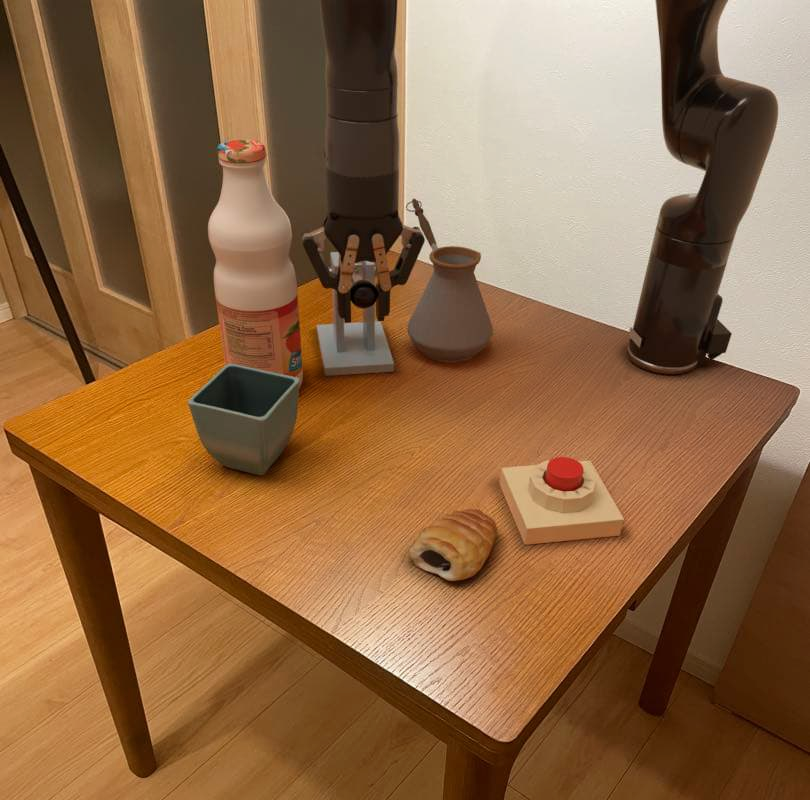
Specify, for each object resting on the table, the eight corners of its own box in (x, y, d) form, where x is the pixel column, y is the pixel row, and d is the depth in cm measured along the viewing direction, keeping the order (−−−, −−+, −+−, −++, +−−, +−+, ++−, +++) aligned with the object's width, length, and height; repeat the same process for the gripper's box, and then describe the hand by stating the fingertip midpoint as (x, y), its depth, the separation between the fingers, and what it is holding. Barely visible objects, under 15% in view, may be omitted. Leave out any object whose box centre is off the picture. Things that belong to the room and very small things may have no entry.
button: (574, 469, 82) (576, 455, 81) (585, 490, 80) (588, 476, 79) (540, 472, 82) (542, 458, 81) (551, 493, 79) (553, 479, 78)
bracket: (394, 371, 104) (395, 276, 95) (324, 376, 102) (320, 280, 94) (380, 328, 112) (381, 238, 104) (316, 332, 111) (311, 241, 103)
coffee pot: (505, 362, 106) (518, 251, 96) (424, 375, 103) (429, 262, 93) (445, 295, 121) (451, 193, 111) (373, 305, 118) (373, 200, 108)
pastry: (455, 513, 82) (458, 484, 80) (512, 539, 80) (517, 510, 77) (403, 563, 77) (404, 534, 74) (463, 594, 74) (466, 564, 71)
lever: (379, 311, 90) (379, 282, 89) (351, 312, 90) (350, 283, 88) (364, 282, 102) (363, 256, 101) (339, 283, 102) (338, 257, 100)
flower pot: (306, 446, 91) (301, 376, 85) (271, 491, 84) (264, 419, 78) (237, 430, 93) (227, 361, 87) (198, 473, 86) (185, 402, 80)
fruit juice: (219, 373, 102) (184, 137, 84) (289, 359, 105) (271, 128, 87) (240, 410, 96) (207, 163, 77) (314, 394, 99) (299, 153, 80)
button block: (586, 476, 88) (593, 446, 85) (620, 535, 80) (628, 505, 78) (498, 483, 86) (502, 453, 84) (524, 545, 79) (529, 514, 76)
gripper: (295, 175, 78) (305, 337, 89) (437, 171, 80) (429, 330, 91) (290, 152, 83) (300, 308, 95) (423, 149, 85) (417, 302, 97)
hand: (363, 318), depth 93 cm, fingers closed on lever, 3 cm apart
